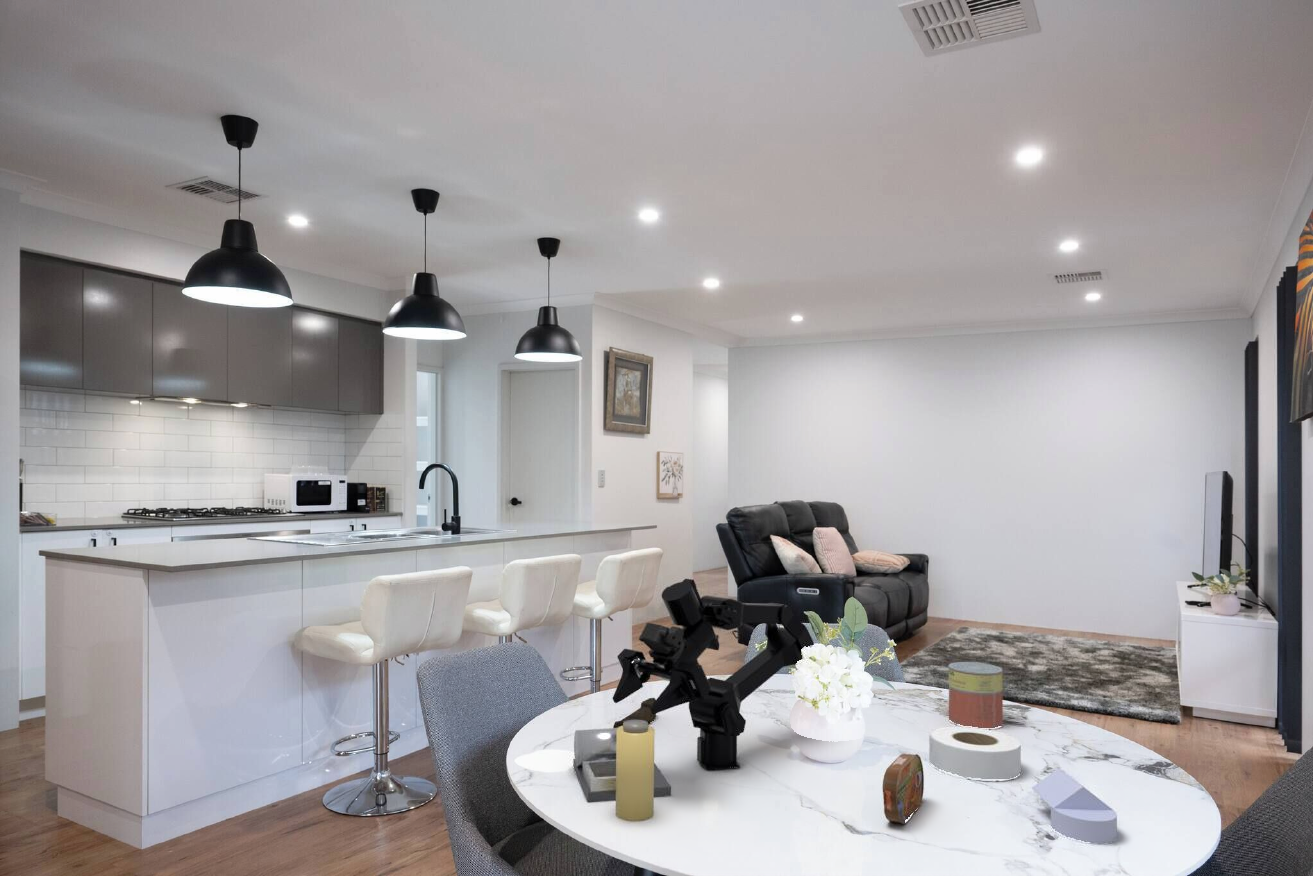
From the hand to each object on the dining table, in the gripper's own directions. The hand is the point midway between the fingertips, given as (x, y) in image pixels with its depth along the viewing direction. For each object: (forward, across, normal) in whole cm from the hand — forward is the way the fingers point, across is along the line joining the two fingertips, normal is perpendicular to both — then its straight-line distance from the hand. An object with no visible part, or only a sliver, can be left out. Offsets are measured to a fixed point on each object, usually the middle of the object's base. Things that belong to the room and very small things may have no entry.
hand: (632, 706), depth 143 cm
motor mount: (+5, -6, +14) cm, 16 cm away
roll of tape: (-40, +33, +42) cm, 67 cm away
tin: (-14, +35, +27) cm, 46 cm away
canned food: (-64, +20, +57) cm, 88 cm away
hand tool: (-15, -27, +27) cm, 41 cm away
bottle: (+12, +6, +10) cm, 17 cm away
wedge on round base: (-28, +56, +35) cm, 72 cm away
